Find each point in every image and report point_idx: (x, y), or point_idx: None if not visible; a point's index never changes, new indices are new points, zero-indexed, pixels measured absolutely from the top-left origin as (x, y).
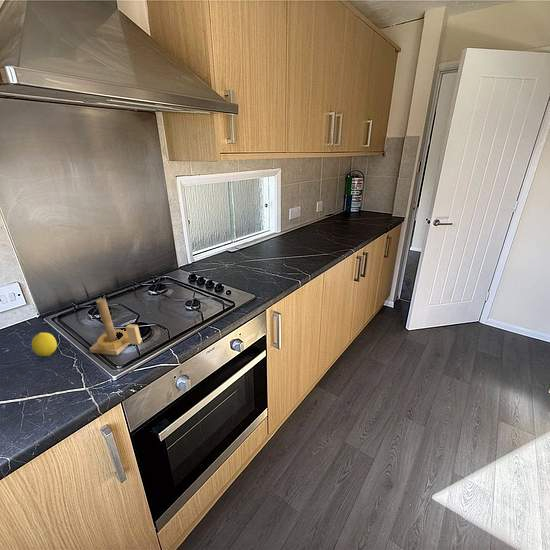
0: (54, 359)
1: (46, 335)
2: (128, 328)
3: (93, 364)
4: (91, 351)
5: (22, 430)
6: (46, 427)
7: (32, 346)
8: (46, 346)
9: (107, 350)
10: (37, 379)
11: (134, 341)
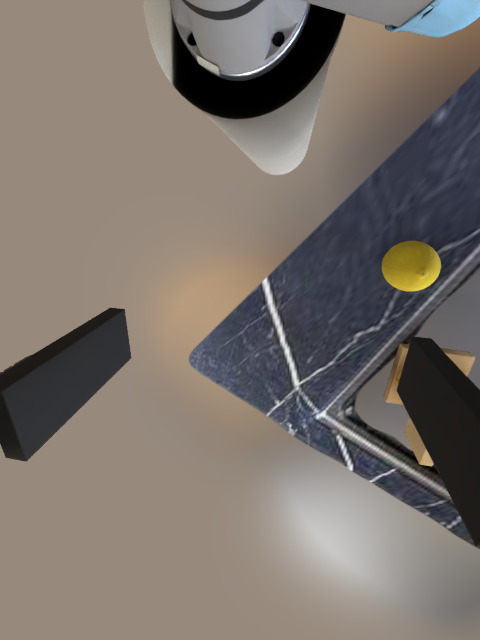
0: (382, 281)
1: (419, 286)
2: (422, 450)
3: (358, 367)
4: (399, 347)
5: (219, 350)
6: (226, 376)
7: (392, 256)
8: (393, 285)
9: (391, 385)
10: (319, 293)
11: (408, 430)
